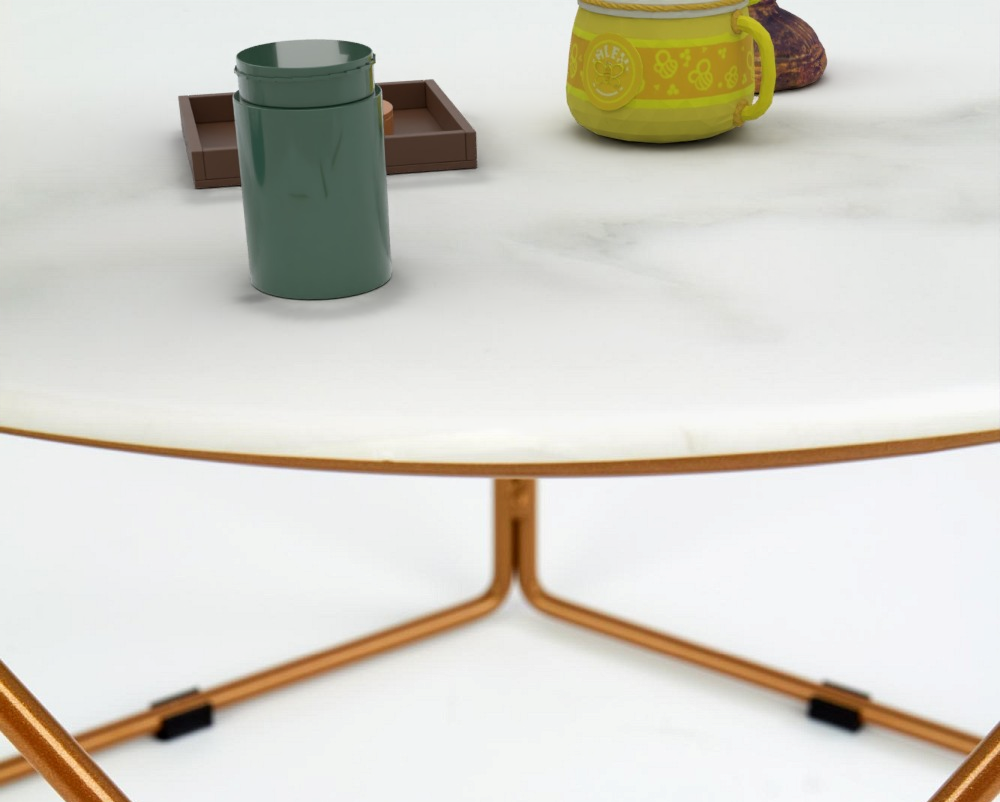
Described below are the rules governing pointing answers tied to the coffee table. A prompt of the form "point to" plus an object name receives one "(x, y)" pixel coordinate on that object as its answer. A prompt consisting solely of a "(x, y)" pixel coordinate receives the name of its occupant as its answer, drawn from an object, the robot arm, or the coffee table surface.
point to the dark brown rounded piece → (788, 47)
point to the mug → (667, 68)
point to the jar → (312, 168)
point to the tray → (413, 148)
